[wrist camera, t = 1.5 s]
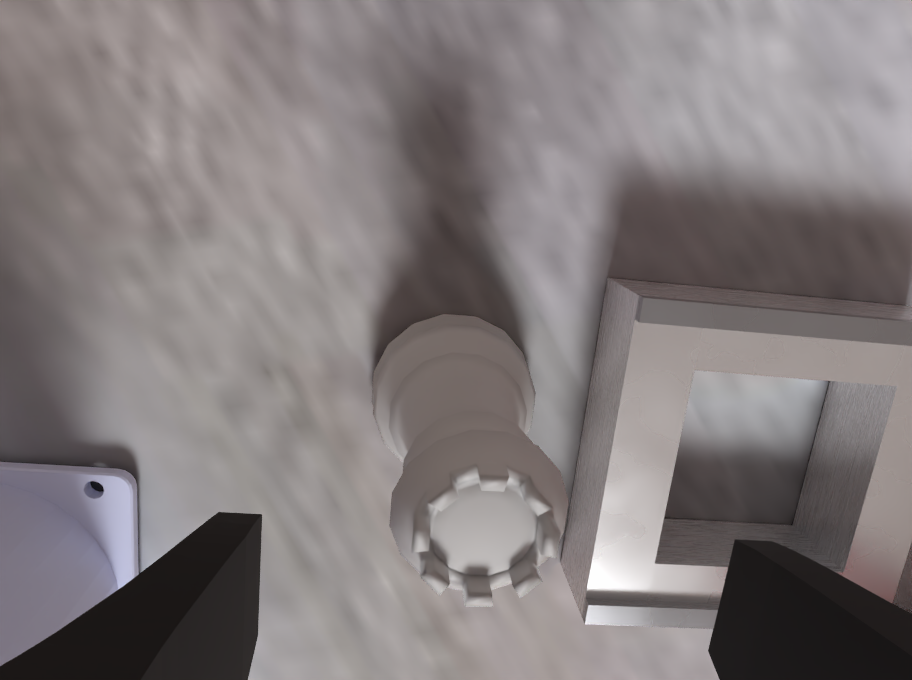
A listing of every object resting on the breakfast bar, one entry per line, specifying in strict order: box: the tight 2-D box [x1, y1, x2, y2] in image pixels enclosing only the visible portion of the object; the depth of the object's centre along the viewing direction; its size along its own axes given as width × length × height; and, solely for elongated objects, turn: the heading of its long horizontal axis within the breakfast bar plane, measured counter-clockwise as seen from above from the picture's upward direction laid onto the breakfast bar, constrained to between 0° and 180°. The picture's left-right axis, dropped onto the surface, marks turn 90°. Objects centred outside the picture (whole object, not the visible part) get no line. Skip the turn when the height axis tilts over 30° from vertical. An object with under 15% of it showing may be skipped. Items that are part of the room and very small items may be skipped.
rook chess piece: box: [372, 314, 569, 607], centre depth 15 cm, size 4×4×8 cm
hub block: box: [561, 278, 912, 629], centre depth 19 cm, size 9×9×3 cm
